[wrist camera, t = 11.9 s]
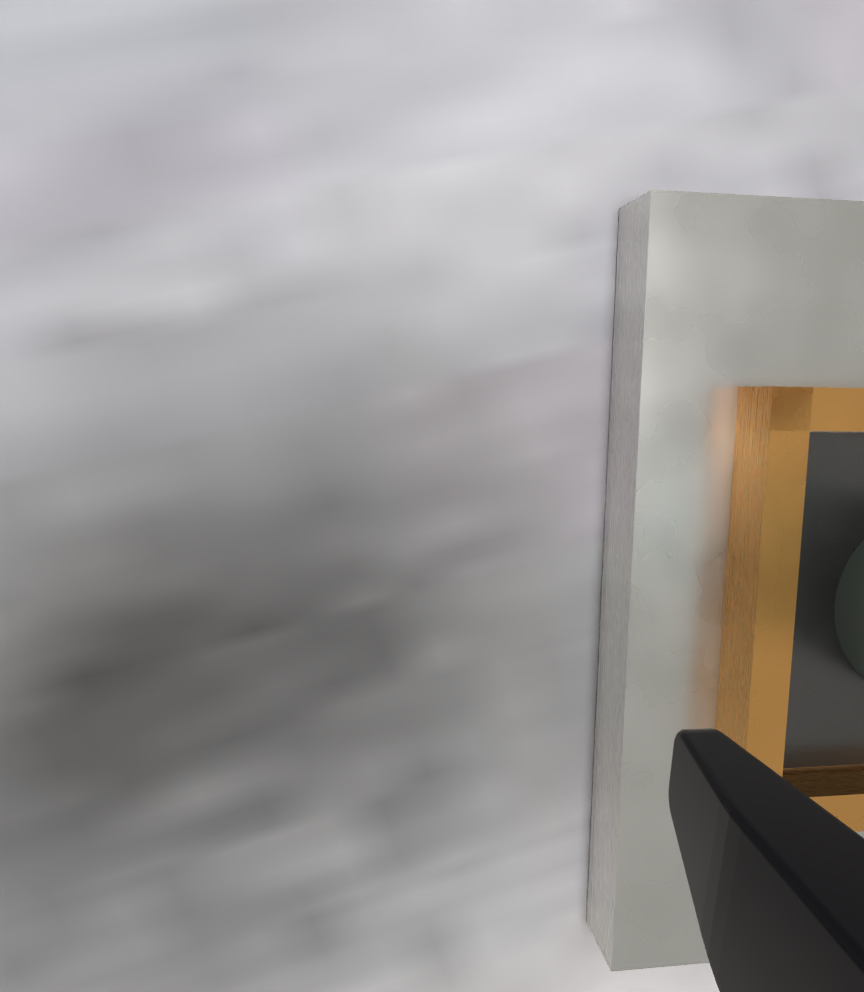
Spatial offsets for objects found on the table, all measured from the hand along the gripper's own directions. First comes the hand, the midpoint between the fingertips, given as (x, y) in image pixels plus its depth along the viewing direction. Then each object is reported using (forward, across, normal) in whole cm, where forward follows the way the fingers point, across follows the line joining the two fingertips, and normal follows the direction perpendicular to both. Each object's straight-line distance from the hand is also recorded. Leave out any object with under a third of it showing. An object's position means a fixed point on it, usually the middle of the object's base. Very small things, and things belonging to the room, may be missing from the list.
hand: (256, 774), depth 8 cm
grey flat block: (+13, -14, +6) cm, 20 cm away
